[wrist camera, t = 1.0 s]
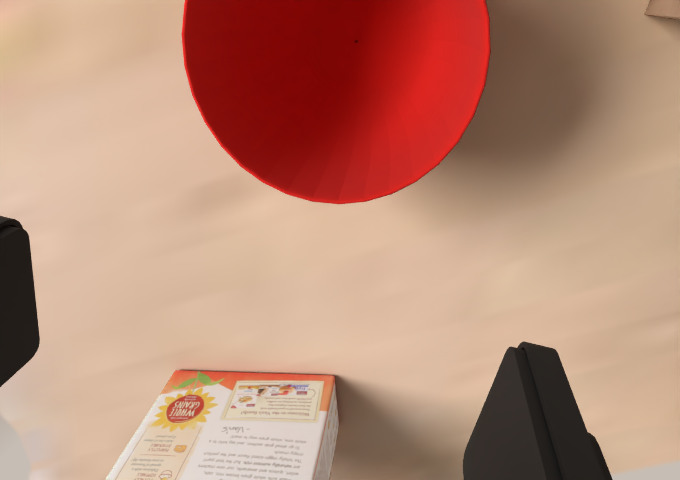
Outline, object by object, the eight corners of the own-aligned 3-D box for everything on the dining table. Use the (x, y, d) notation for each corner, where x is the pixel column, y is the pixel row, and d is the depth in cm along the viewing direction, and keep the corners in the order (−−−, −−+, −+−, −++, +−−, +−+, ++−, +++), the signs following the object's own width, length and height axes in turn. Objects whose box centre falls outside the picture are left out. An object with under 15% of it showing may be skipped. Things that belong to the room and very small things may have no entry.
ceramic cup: (580, -28, 27) (657, -38, 18) (363, 188, 34) (341, 256, 25) (405, -230, 24) (394, -358, 15) (210, 47, 31) (125, 68, 22)
